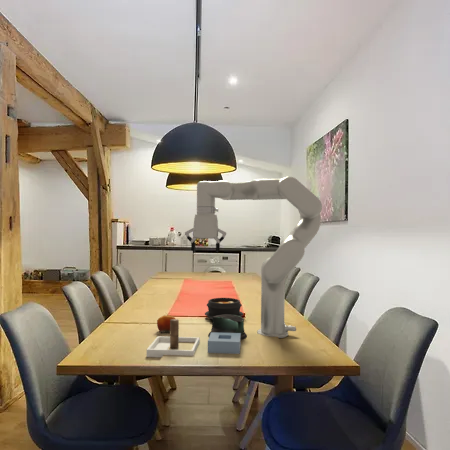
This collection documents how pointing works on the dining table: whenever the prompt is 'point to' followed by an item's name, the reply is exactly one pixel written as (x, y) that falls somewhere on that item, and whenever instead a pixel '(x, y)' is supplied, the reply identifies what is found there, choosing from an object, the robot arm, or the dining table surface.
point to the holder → (224, 343)
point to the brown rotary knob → (228, 325)
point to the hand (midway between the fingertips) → (205, 252)
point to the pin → (174, 333)
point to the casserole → (223, 307)
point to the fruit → (164, 323)
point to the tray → (163, 343)
